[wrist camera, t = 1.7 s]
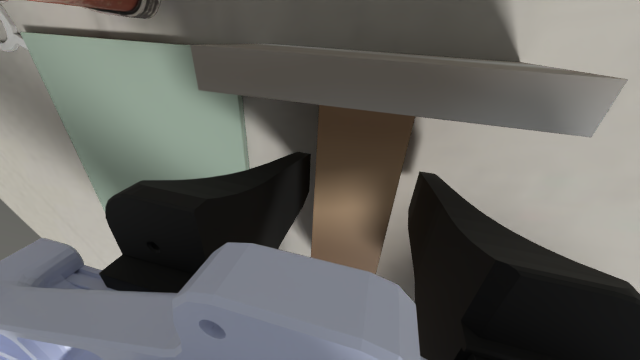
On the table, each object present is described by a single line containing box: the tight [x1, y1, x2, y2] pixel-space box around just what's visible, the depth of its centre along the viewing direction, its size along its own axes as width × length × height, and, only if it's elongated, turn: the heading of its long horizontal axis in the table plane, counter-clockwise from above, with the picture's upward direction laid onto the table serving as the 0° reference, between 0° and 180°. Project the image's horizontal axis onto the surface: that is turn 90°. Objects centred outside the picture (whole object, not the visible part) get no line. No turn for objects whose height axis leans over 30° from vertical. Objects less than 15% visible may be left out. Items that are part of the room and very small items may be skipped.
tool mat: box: [20, 32, 249, 211], centre depth 16 cm, size 15×13×1 cm
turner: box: [190, 44, 628, 274], centre depth 11 cm, size 13×10×5 cm
